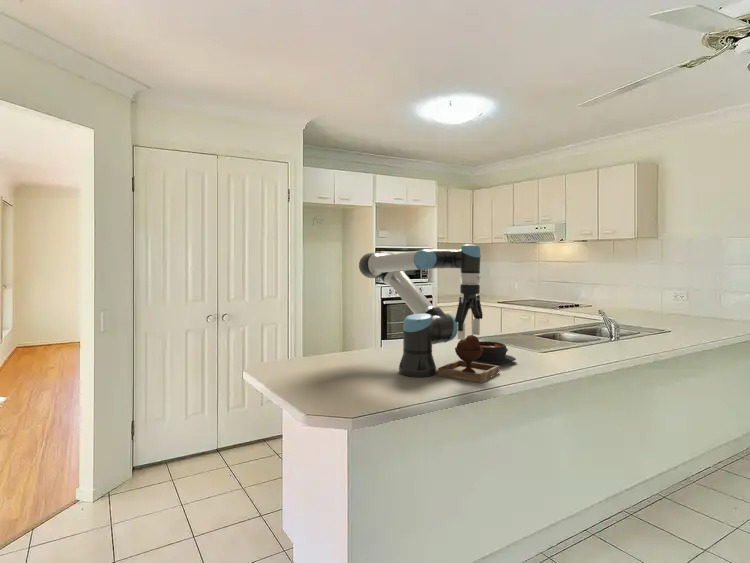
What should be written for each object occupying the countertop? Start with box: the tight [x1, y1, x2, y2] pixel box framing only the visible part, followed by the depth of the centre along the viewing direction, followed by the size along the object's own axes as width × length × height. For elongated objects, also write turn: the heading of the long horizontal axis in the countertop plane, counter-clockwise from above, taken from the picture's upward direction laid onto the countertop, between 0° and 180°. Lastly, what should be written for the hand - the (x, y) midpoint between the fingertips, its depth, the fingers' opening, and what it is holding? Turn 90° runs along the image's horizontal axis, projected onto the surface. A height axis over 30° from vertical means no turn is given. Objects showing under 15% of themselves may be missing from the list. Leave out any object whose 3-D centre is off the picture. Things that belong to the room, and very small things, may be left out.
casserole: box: [473, 340, 516, 366], centre depth 210 cm, size 25×19×8 cm
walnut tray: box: [437, 359, 500, 383], centre depth 189 cm, size 18×18×3 cm
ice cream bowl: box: [454, 334, 483, 373], centre depth 189 cm, size 11×11×15 cm
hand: (468, 336), depth 189 cm, fingers open, 13 cm apart
